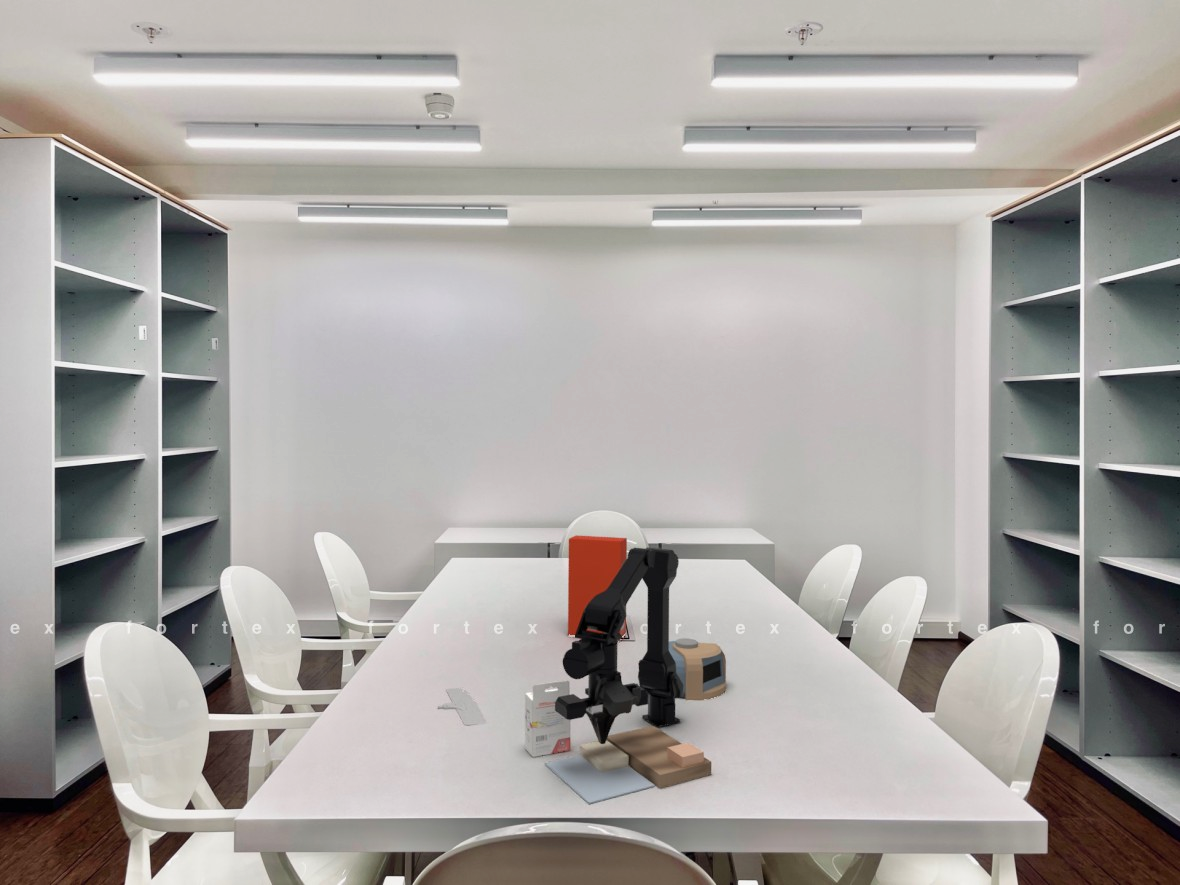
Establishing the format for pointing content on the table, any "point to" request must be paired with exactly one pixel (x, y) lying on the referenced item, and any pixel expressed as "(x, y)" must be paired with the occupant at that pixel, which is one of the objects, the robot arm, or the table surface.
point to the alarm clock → (699, 668)
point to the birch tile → (604, 756)
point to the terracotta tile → (685, 755)
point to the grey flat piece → (464, 707)
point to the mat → (597, 779)
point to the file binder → (592, 572)
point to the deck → (656, 757)
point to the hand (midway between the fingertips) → (602, 743)
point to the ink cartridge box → (546, 720)
